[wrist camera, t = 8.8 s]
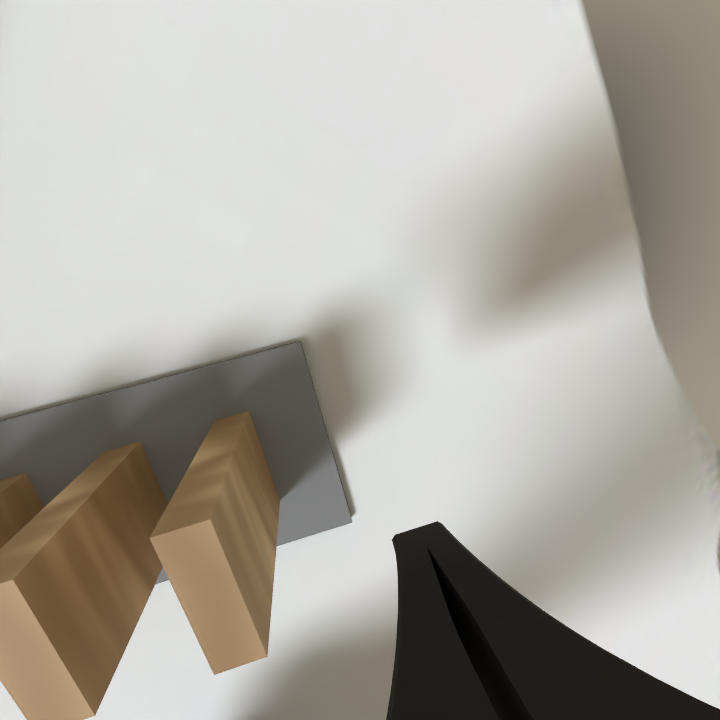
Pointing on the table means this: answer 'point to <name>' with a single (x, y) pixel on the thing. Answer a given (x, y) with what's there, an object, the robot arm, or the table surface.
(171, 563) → the domino
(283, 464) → the slate mat
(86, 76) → the table surface
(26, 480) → the domino
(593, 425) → the table surface
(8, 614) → the domino
